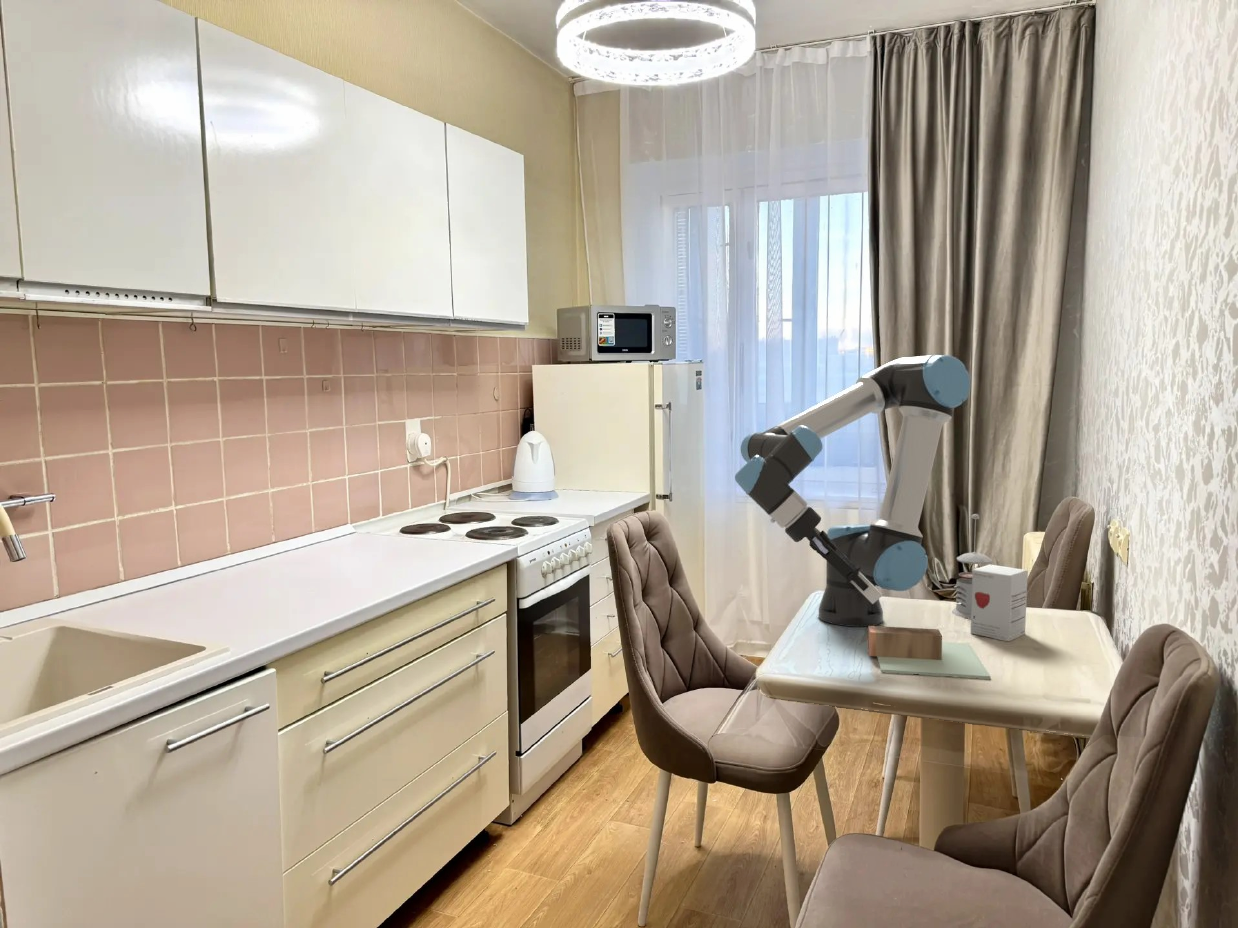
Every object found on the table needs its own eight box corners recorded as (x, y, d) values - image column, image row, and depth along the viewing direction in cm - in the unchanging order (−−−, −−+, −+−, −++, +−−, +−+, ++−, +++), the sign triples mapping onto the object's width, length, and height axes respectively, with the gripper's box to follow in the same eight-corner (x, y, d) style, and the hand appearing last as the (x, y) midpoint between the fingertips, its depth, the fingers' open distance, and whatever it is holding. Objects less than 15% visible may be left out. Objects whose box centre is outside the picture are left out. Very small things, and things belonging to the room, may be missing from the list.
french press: (986, 608, 212) (989, 511, 210) (1003, 621, 201) (1006, 517, 199) (946, 608, 213) (949, 511, 211) (960, 620, 202) (963, 517, 200)
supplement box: (968, 633, 191) (970, 568, 189) (986, 626, 197) (988, 563, 195) (1009, 642, 184) (1011, 575, 183) (1026, 634, 190) (1028, 569, 189)
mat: (872, 640, 186) (872, 637, 186) (969, 645, 181) (969, 643, 181) (881, 672, 164) (881, 669, 164) (990, 679, 160) (990, 676, 160)
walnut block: (868, 625, 177) (938, 629, 174) (868, 648, 178) (937, 652, 175) (870, 632, 173) (942, 635, 169) (869, 655, 173) (941, 660, 170)
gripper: (784, 525, 184) (862, 603, 181) (782, 534, 171) (865, 619, 169) (809, 501, 182) (888, 580, 180) (809, 509, 169) (893, 594, 167)
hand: (877, 598), depth 174 cm, fingers closed
